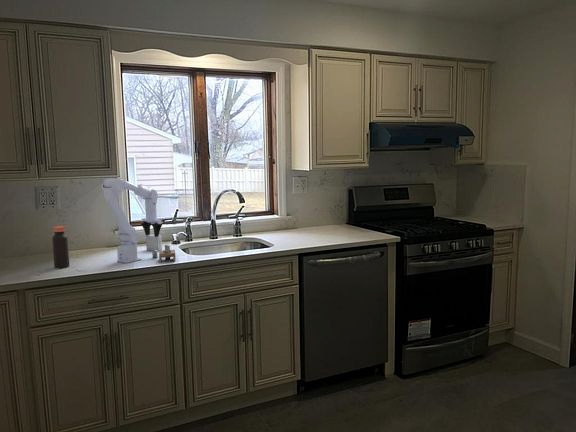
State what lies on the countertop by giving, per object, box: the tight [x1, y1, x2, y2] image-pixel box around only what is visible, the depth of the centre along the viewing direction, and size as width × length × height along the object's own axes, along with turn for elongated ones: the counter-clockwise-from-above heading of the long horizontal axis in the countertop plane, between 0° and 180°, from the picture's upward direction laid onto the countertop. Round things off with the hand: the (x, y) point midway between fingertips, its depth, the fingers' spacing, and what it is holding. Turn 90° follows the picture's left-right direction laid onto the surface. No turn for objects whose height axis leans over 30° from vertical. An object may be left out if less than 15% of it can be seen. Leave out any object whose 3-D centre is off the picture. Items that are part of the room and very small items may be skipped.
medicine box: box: [145, 234, 163, 252], centre depth 272 cm, size 8×4×9 cm, turn 74°
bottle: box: [51, 225, 70, 269], centre depth 231 cm, size 7×7×20 cm
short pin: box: [151, 250, 159, 260], centre depth 250 cm, size 3×3×4 cm
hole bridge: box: [158, 249, 176, 263], centre depth 244 cm, size 9×8×4 cm
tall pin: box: [164, 244, 171, 261], centre depth 244 cm, size 3×3×8 cm
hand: (152, 235), depth 258 cm, fingers open, 7 cm apart
